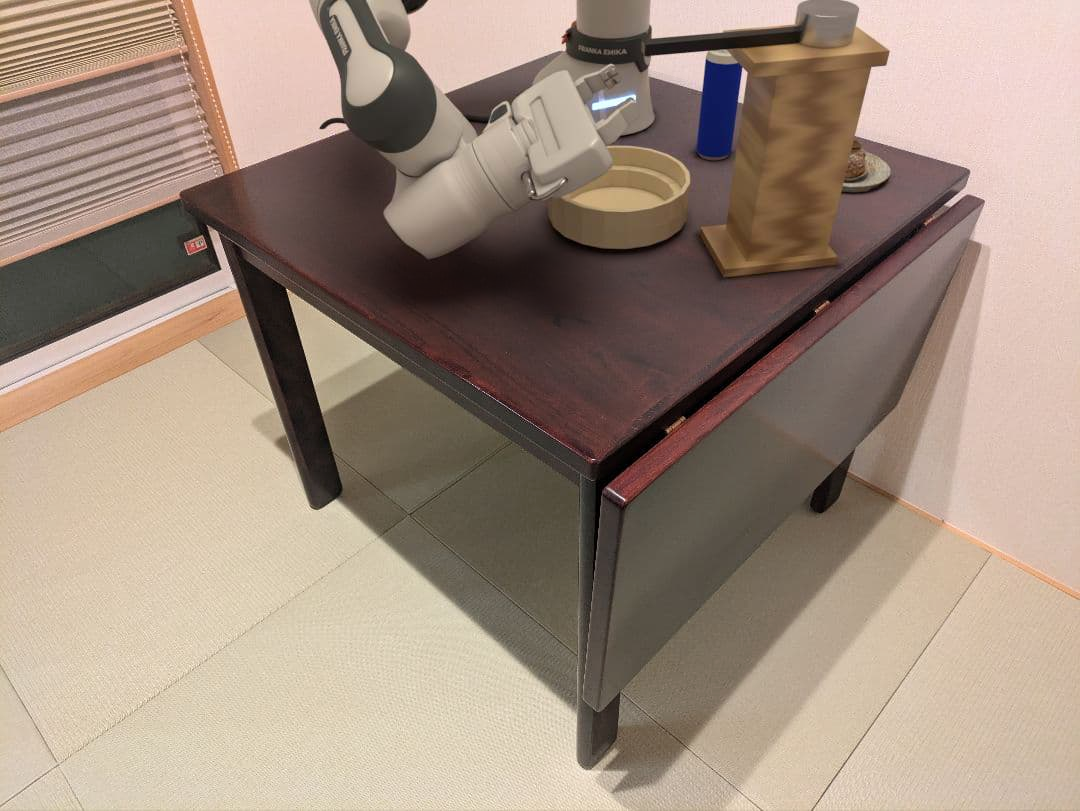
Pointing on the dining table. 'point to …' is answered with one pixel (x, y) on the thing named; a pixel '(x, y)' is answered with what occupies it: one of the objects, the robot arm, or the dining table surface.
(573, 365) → the dining table surface
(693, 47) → the black handled spatula
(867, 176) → the pastry
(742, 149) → the wooden column stand
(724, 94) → the beverage can
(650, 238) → the bowl
